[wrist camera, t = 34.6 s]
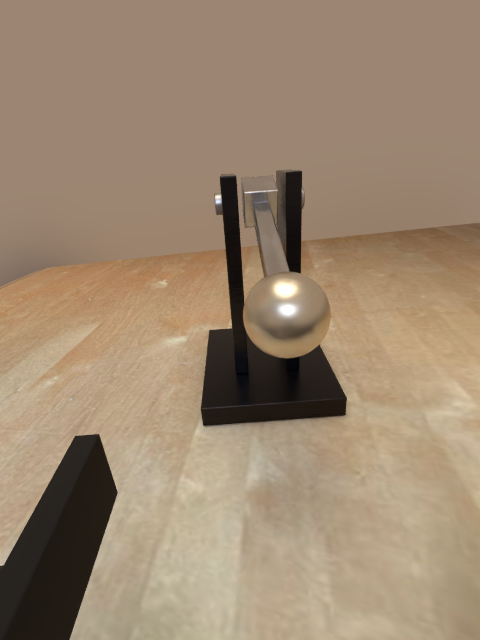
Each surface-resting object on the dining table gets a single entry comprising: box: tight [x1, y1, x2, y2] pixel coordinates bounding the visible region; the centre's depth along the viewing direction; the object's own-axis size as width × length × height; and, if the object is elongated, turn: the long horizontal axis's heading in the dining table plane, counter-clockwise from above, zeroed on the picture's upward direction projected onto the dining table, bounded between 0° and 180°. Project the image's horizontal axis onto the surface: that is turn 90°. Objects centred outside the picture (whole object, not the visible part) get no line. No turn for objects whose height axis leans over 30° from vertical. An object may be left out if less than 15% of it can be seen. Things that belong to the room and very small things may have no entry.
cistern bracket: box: [201, 170, 347, 425], centre depth 26 cm, size 12×10×16 cm
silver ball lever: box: [241, 176, 331, 358], centre depth 18 cm, size 15×4×4 cm, turn 2°
